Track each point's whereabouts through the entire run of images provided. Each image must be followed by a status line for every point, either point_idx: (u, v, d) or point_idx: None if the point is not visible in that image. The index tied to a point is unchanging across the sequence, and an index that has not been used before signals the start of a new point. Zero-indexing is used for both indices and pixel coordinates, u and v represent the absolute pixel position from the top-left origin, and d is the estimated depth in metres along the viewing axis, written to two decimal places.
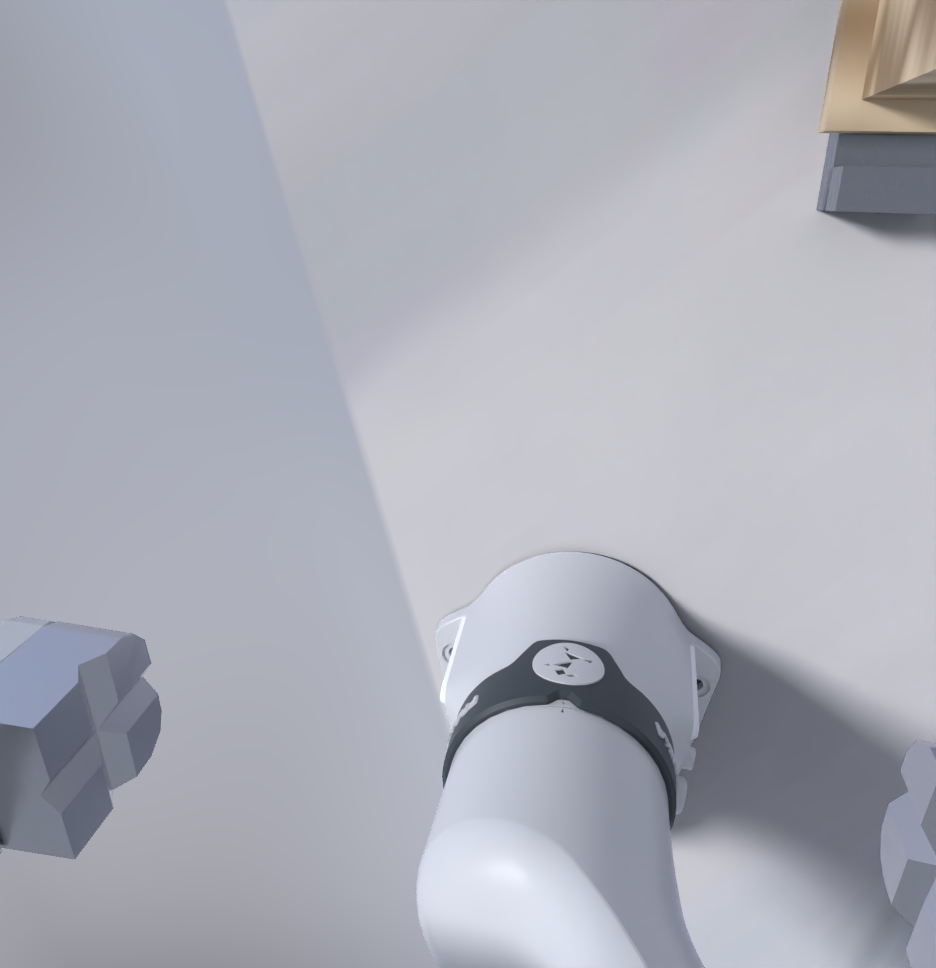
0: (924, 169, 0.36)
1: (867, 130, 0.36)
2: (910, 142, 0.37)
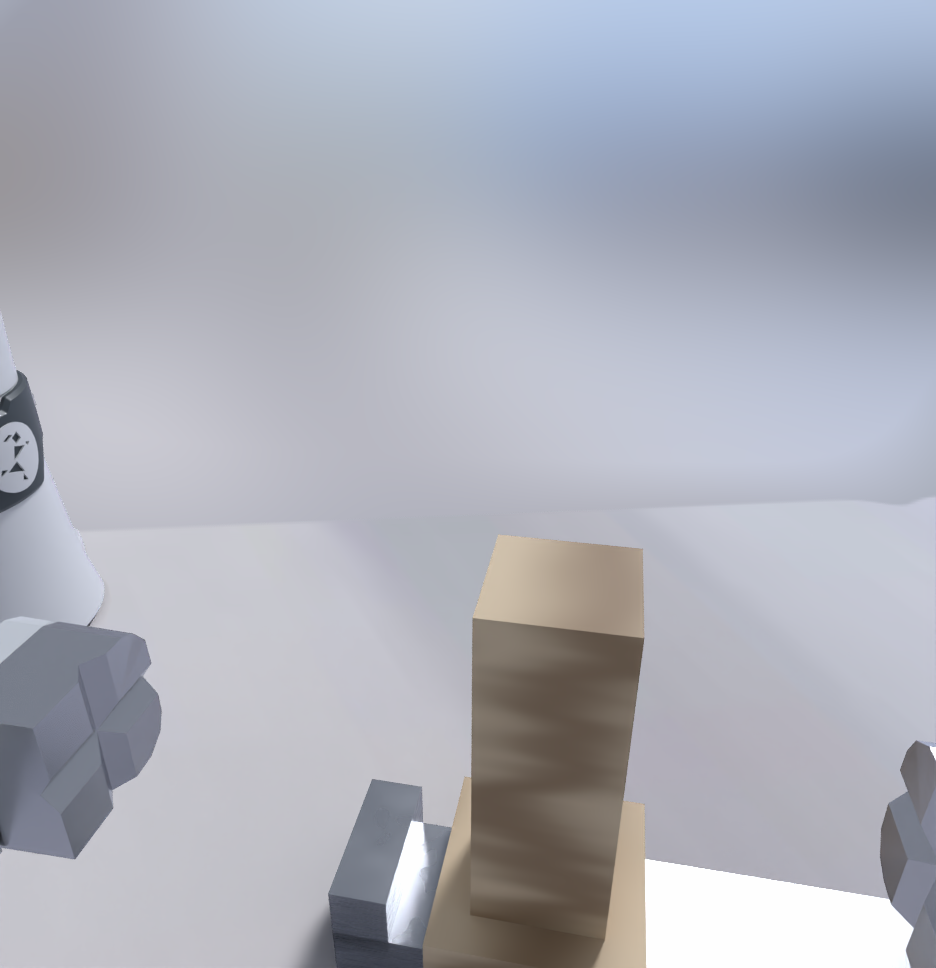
0: (395, 864, 0.27)
1: (456, 815, 0.29)
2: (432, 902, 0.28)
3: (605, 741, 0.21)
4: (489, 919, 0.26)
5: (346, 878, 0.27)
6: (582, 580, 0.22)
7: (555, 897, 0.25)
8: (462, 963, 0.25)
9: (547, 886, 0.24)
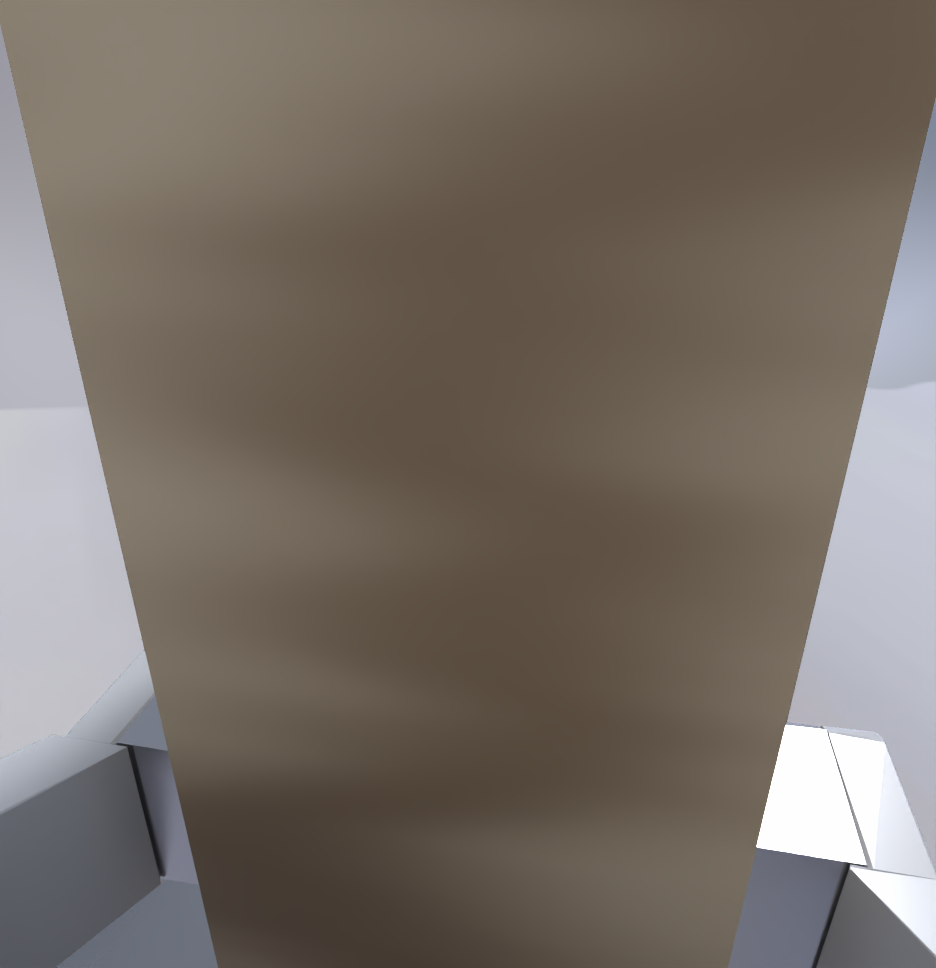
0: None
1: None
2: None
3: (694, 594, 0.05)
4: None
5: None
6: None
7: None
8: None
9: None
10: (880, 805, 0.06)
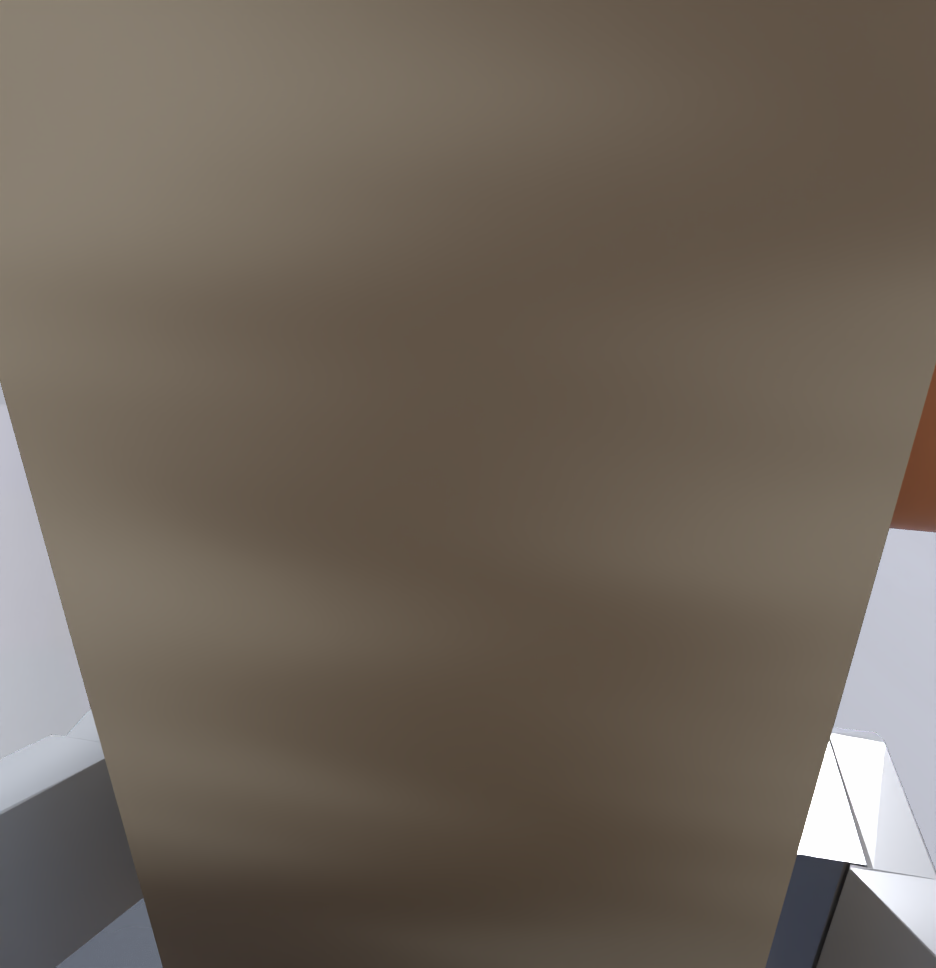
0: None
1: None
2: None
3: (700, 701, 0.04)
4: None
5: None
6: None
7: None
8: None
9: None
10: (881, 805, 0.06)
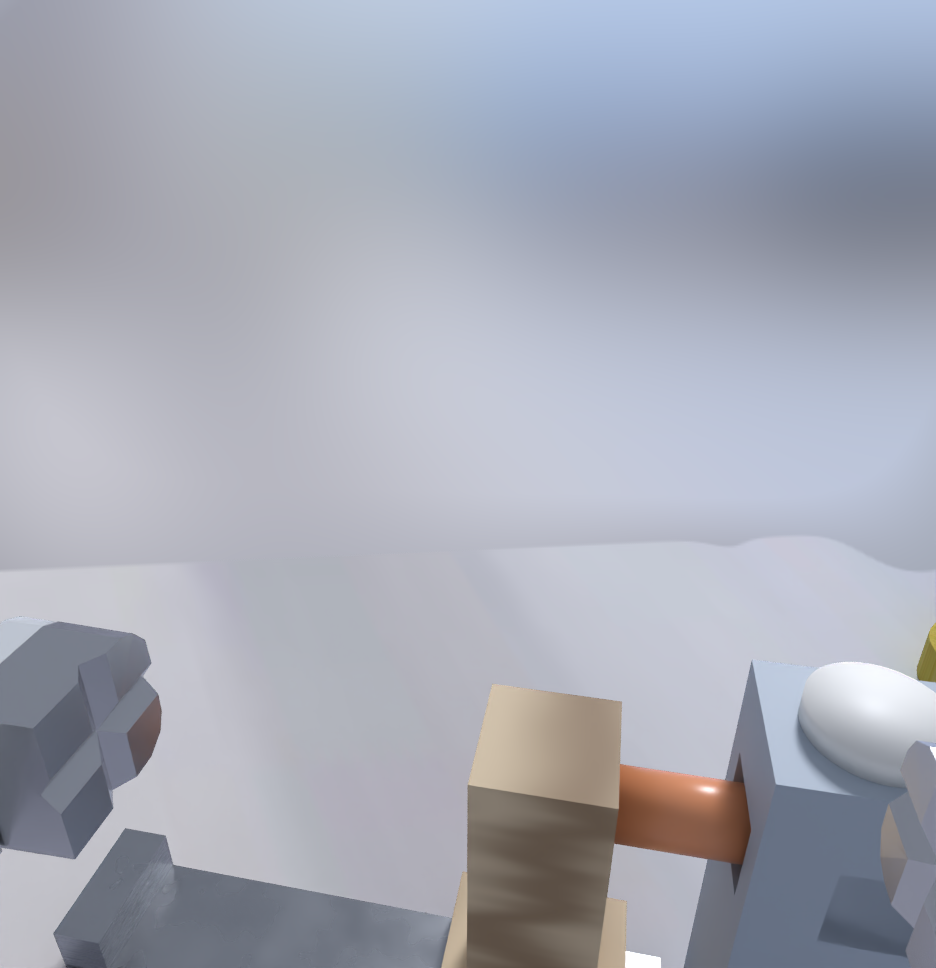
0: (118, 907, 0.32)
1: (454, 912, 0.32)
2: (158, 937, 0.33)
3: (586, 887, 0.24)
4: None
5: (73, 919, 0.32)
6: (566, 740, 0.25)
7: None
8: None
9: None
10: None
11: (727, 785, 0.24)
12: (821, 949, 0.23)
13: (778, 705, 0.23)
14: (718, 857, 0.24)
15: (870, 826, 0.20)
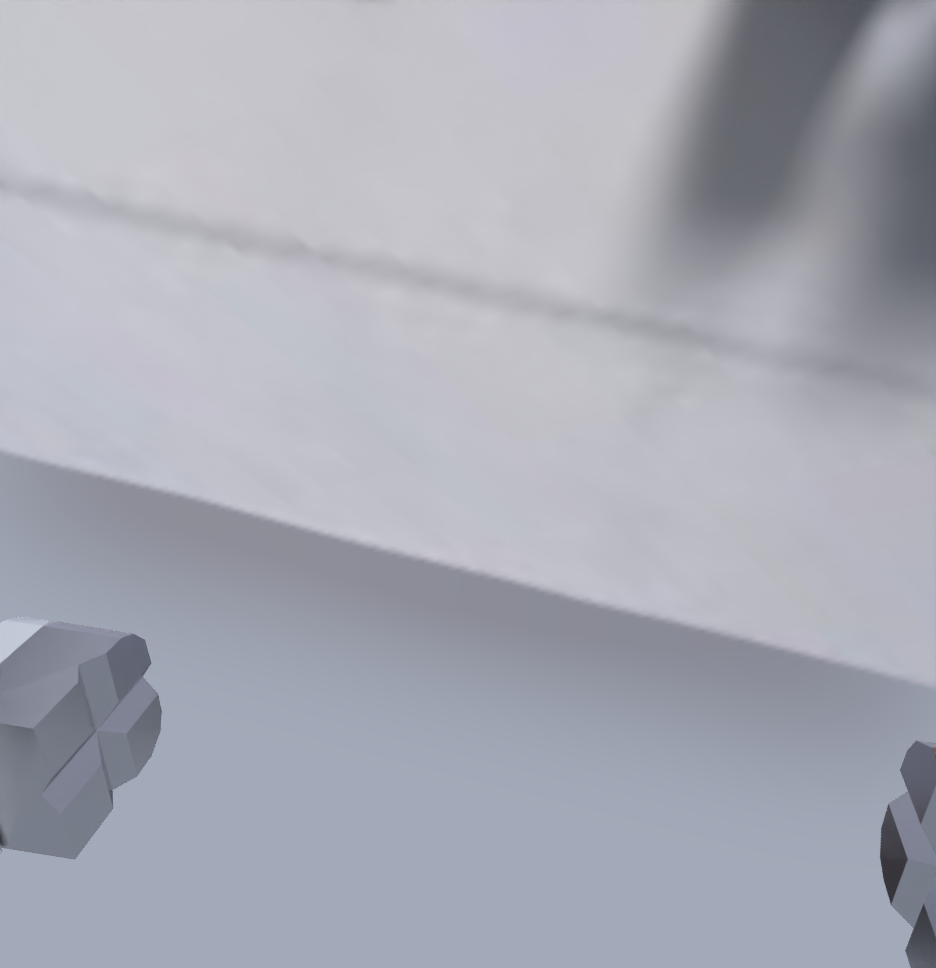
0: None
1: None
2: None
3: None
4: None
5: None
6: None
7: None
8: None
9: None
10: None
11: None
12: None
13: None
14: None
15: None
